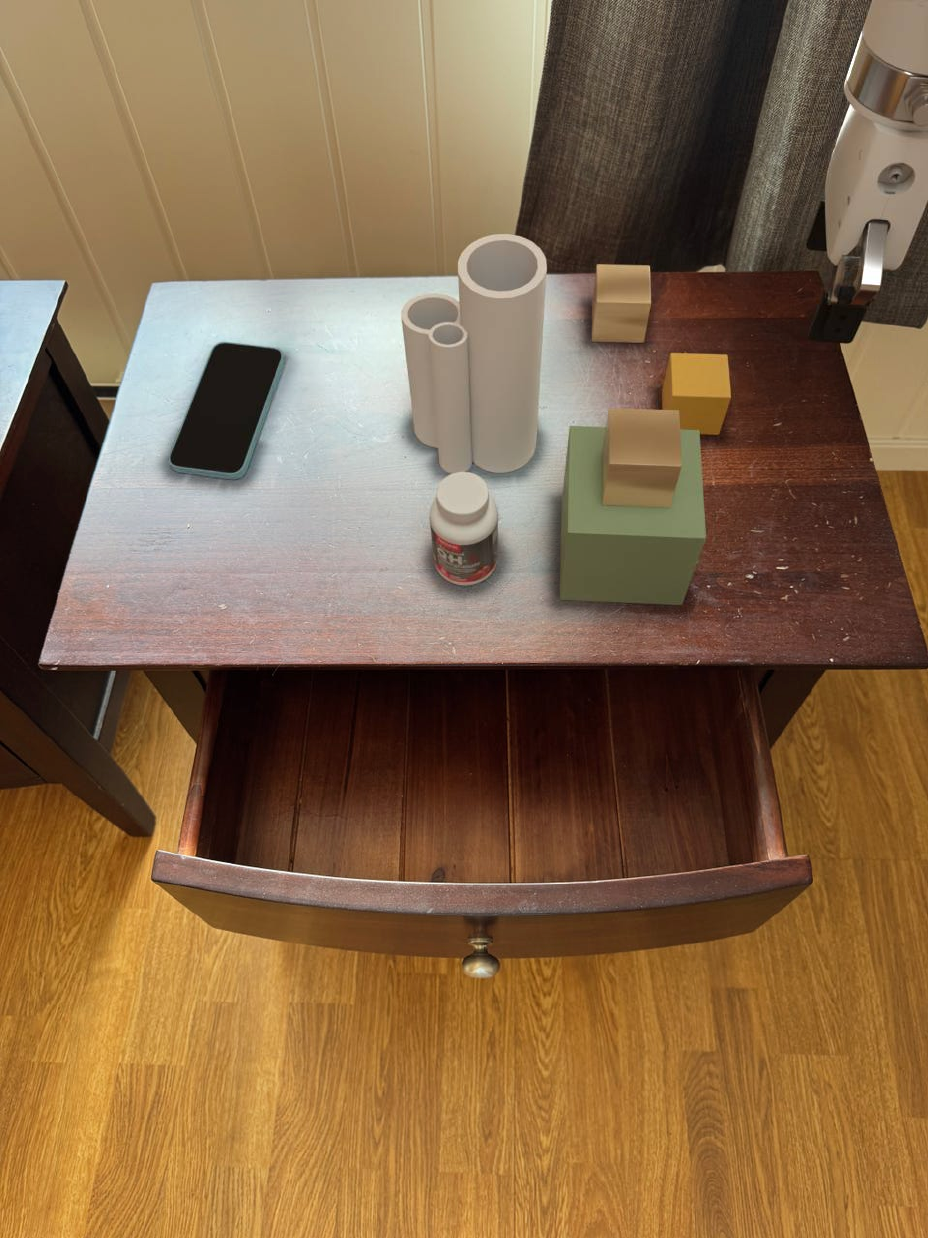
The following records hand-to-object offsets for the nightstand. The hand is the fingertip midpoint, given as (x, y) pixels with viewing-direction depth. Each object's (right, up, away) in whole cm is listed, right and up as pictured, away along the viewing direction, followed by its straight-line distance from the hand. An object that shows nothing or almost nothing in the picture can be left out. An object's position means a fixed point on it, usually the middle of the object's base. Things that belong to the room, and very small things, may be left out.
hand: (827, 292), depth 71 cm
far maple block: (-13, +4, +20) cm, 24 cm away
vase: (-27, -9, +14) cm, 31 cm away
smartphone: (-50, -6, +16) cm, 52 cm away
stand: (-15, -19, +8) cm, 25 cm away
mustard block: (-7, -6, +15) cm, 17 cm away
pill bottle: (-28, -20, +8) cm, 35 cm away
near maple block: (-15, -14, -1) cm, 21 cm away
